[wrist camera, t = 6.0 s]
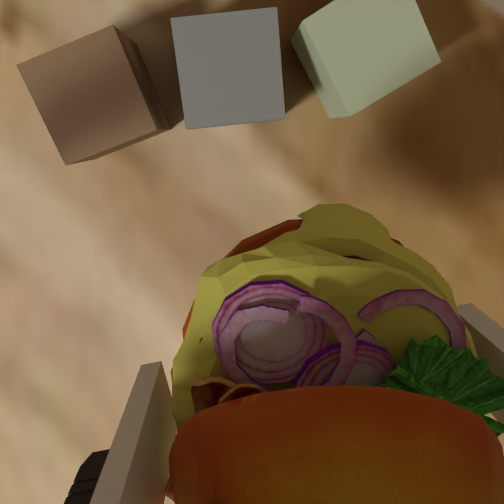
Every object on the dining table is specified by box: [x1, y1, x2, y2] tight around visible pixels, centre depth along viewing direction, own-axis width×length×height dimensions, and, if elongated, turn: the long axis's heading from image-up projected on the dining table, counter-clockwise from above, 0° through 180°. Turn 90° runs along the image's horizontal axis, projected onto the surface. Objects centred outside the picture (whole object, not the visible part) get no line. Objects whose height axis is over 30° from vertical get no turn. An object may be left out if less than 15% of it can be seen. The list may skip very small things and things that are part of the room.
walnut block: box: [16, 25, 171, 165], centre depth 23 cm, size 5×5×5 cm
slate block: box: [170, 7, 286, 129], centre depth 23 cm, size 5×5×5 cm
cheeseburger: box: [165, 204, 504, 504], centre depth 13 cm, size 10×11×10 cm
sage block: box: [290, 0, 441, 119], centre depth 23 cm, size 5×5×5 cm
